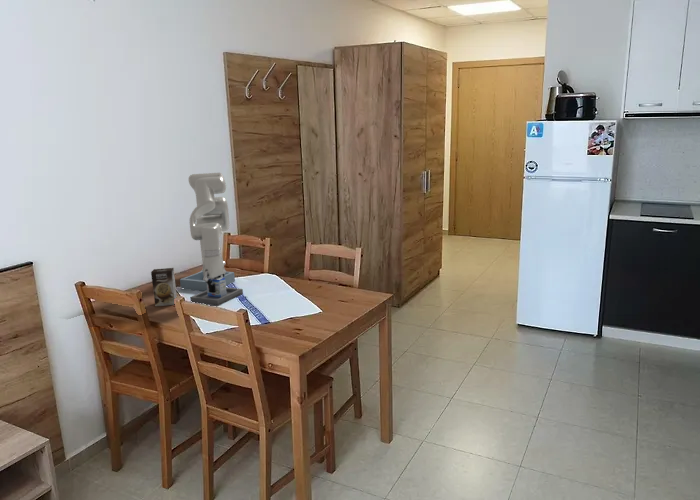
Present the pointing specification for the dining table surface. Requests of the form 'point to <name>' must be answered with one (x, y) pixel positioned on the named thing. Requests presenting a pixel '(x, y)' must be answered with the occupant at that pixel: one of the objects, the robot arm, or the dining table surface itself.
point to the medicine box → (218, 287)
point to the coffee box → (164, 286)
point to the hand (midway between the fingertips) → (216, 290)
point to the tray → (216, 301)
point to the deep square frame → (202, 281)
